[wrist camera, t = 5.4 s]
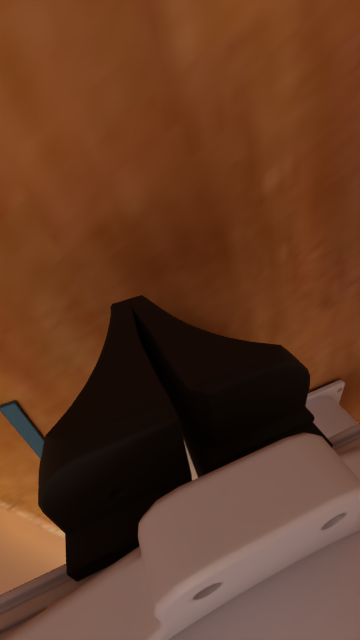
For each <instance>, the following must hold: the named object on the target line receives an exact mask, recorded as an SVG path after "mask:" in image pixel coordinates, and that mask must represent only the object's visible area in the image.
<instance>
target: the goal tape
mask: <svg viewBox="0 0 360 640" xmlns="http://www.w3.org/2000/svg"><path fill="white" fill-rule="evenodd" d="M0 411H1V412H2V413H3V414H4V416H5V417H6V418H7V419H8V420H9V422H10V423H11V424H12V425H13V426H14V428H15V429H16V430H17V431H18V432H19V433H20V435H21V436H22V437H23V438H24V439H25V441H26V442H27V443H28V444H29V445H30V447H31V448H32V449H33V450H34V451H35V453H36V454H37V455H38V456H39V457H40V458H41V456H42V450H43V445H44V440H45V439H44V438H43V437H42V436H41V434H40V433H39V432H38V430H37V429H36V428H35V426H34V425H33V424H32V422H31V421H30V420H29V418H28V417H27V416H26V415H25V413H24V412H23V411H22V409H21V408H20V407H19V405H18V404H17V403H16V401H14V402H11V403H8V404H5V405H2V406H0Z"/></svg>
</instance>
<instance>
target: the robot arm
mask: <svg viewBox="0 0 360 640" xmlns="http://www.w3.org/2000/svg"><path fill="white" fill-rule="evenodd" d="M309 386H310V374H309V372H308V369H307V368H306V367H305V366H304V365H303V364H302V363H301V362H300V361H299V360H298V359H297V358H295V357H294V356H293V355H292V354H291V353H290V352H289V351H287V350H286V349H285V348H284V347H282V346H281V345H275V344H266V343H256V342H249V341H243V340H238V339H233V338H229V337H224V336H221V335H217V334H214V333H210V332H207V331H204V330H202V329H199V328H197V327H194V326H192V325H189V324H187V323H185V322H183V321H181V320H179V319H177V318H176V317H174V316H172V315H170V314H169V313H167V312H166V311H164V310H162V309H161V308H159V307H158V306H156V305H155V304H154V303H152V302H151V301H150V300H148V299H147V298H146V297H144V296H142V295H140V296H137V297H134V298H130V299H127V300H124V301H121V302H117V303H114V304H112V306H111V317H110V324H109V328H108V333H107V337H106V340H105V343H104V346H103V349H102V352H101V355H100V357H99V359H98V362H97V364H96V366H95V368H94V370H93V372H92V374H91V376H90V378H89V379H88V381H87V383H86V385H85V386H84V388H83V390H82V391H81V392H80V394H79V395H78V397H77V398H76V400H75V401H74V403H73V404H72V405H71V407H70V408H69V409H68V411H67V412H66V413H65V414H64V415H63V416H62V418H61V419H60V420H59V421H58V422H57V423H56V425H55V426H54V427H53V428H52V429H51V430H50V431H49V432H48V433H47V435H46V436H45V440H44V445H43V450H42V456H41V461H40V467H39V490H38V505H39V507H40V508H41V510H42V512H43V513H44V514H45V515H46V516H47V517H48V518H49V519H50V520H51V521H53V522H54V523H55V524H56V525H57V526H58V527H59V528H60V529H61V530H62V531H63V532H64V533H65V538H66V564H64V565H62V566H60V567H58V568H56V569H54V570H52V571H50V572H48V573H46V574H43V575H41V576H39V577H37V578H35V579H33V580H31V581H29V582H27V583H25V584H23V585H21V586H18V587H16V588H14V589H13V590H10V591H8V592H6V593H4V594H2V595H0V640H360V423H358V422H357V421H356V420H355V419H354V418H352V417H351V416H350V415H349V414H348V413H347V412H346V411H345V410H344V409H343V408H342V407H341V406H340V405H339V402H340V398H341V395H342V392H343V389H344V386H345V383H344V382H343V381H342V380H338V381H336V382H333V383H331V384H329V385H326V386H324V387H322V388H319V389H317V390H315V391H312V392H310V393H308V391H309ZM184 442H185V444H184ZM185 445H186V447H187V450H188V453H189V455H190V458H191V460H192V463H193V466H194V468H195V471H196V474H197V476H198V478H197V479H195V480H193V481H192V474H191V470H190V465H189V461H188V457H187V452H186V448H185Z"/></svg>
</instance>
